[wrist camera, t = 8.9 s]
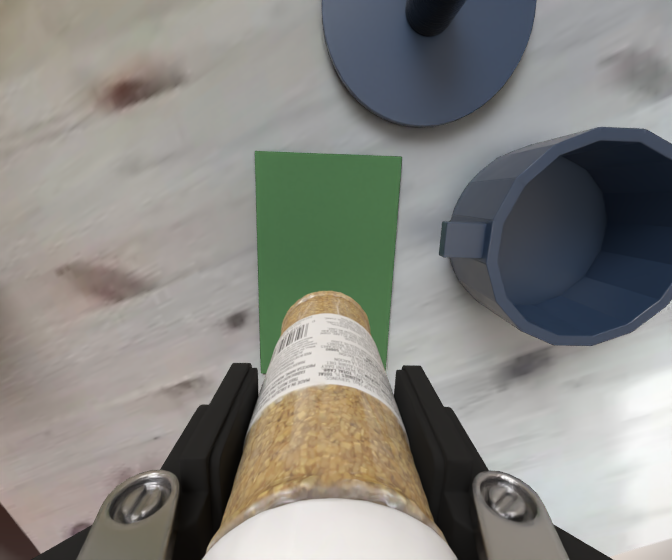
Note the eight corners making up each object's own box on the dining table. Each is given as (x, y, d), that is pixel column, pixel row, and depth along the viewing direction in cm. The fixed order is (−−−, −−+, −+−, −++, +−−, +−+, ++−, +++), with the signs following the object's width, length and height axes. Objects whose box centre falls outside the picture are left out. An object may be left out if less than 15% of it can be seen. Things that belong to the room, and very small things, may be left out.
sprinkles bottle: (314, 384, 17) (281, 949, 4) (263, 318, 16) (20, 794, 3) (387, 340, 17) (599, 829, 4) (339, 269, 16) (406, 603, 3)
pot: (426, 141, 27) (463, 120, 20) (659, 150, 27) (777, 134, 20) (410, 309, 30) (437, 343, 23) (617, 313, 31) (705, 348, 24)
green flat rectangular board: (255, 151, 26) (254, 150, 26) (401, 157, 27) (402, 156, 27) (261, 371, 31) (260, 373, 31) (384, 373, 32) (385, 375, 31)
